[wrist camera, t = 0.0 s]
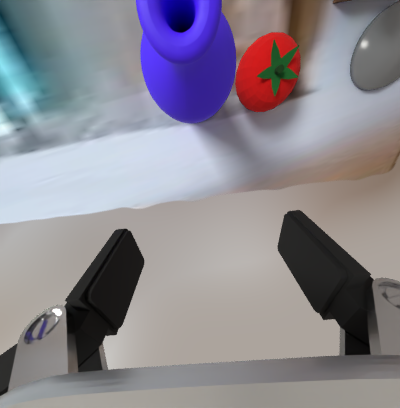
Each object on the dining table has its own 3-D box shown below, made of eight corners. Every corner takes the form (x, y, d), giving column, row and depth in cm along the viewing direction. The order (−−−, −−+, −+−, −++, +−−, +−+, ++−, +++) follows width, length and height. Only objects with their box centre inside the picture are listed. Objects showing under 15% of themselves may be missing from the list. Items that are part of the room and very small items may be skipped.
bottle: (216, 74, 29) (371, -256, 3) (210, 122, 33) (257, 143, 7) (174, 68, 28) (-43, -390, 3) (173, 118, 33) (87, 124, 7)
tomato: (240, 122, 33) (255, 124, 25) (222, 67, 28) (233, 46, 20) (287, 96, 31) (321, 88, 22) (276, 32, 26) (315, -10, 18)
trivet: (367, 6, 25) (373, 2, 24) (442, -6, 24) (451, -11, 23) (340, 93, 31) (344, 93, 30) (400, 85, 30) (406, 84, 30)
